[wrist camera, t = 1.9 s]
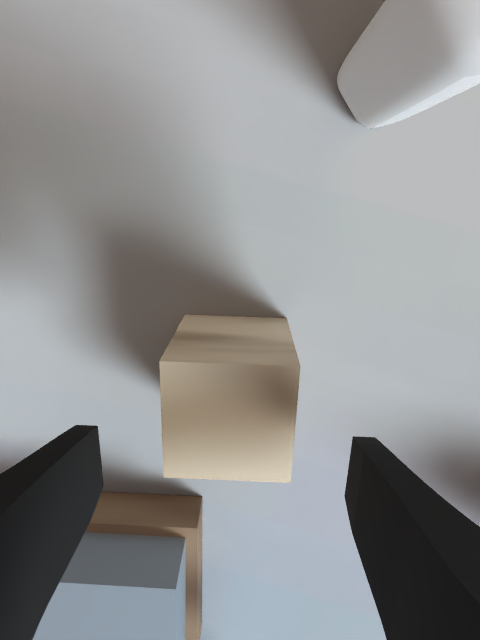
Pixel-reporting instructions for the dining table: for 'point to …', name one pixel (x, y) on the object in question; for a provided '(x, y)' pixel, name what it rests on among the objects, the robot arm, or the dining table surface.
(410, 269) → the dining table surface
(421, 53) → the eye dropper bottle
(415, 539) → the robot arm
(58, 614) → the slate top block
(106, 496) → the walnut base block
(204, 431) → the birch block
